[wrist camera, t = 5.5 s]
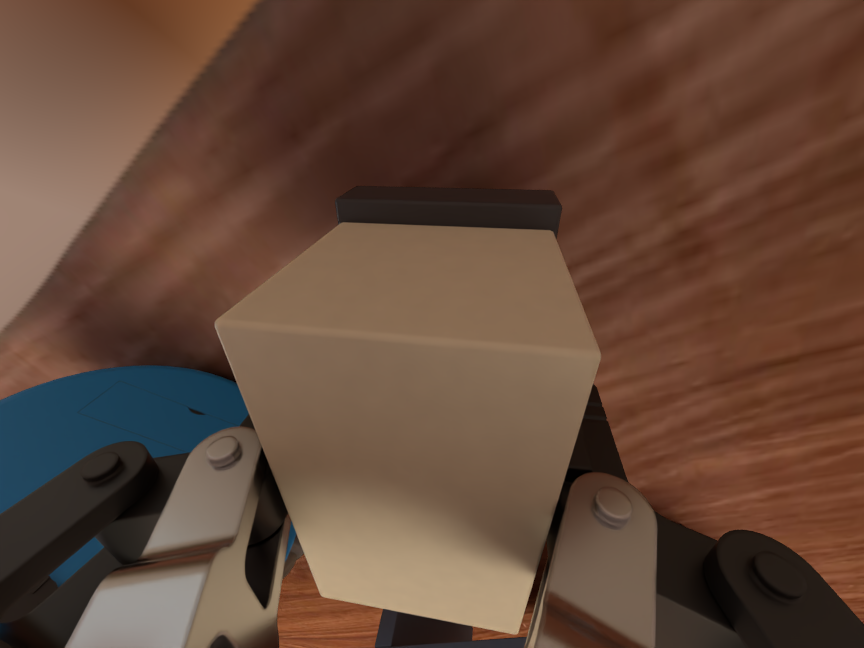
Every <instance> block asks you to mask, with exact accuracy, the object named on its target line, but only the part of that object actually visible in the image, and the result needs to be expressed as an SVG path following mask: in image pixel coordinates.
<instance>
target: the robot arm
mask: <svg viewBox="0 0 864 648" xmlns="http://www.w3.org/2000/svg"><path fill="white" fill-rule="evenodd" d="M606 419H607V417H606V414H605V411H604V408H603V407H602V402H601V399H600V396H599V393H598V390H597V387H596V386H595V385H594V384H593V386H592V389H591V392H590V396H589V399H588V402H587V406H586V409H585V412H584V416H583V419H582V422H581V426H580V429H579V432H578V436H577V439H576V442H575V446H574V449H573V452H572V456H571V459H570V462H569V466H568V469H567V472H566V476H565V479H564V482H563V486H562V489H561V492H560V495H559V499H558V502H557V505H556V509H555V512H554V515H553V519H552V522H551V525H550V529H549V532H548V535H547V539H546V540H547V550H548V559H547V562H546V565H545V569H544V572H543V576H542V580H541V584H540V588H539V592H538V596H537V600H536V604H535V608H534V612H533V616H532V620H531V623H530V627H529V631H528V635H527V639H526V643H525V647H524V648H864V624H863V623H862V622H861V621H860V620H859V618H858V617H857V616H856V615H855V614H854V613H853V612H852V611H851V609H850V608H849V607H848V606H847V605H846V604H845V603H844V602H843V601H842V599H841V598H840V597H839V596H838V595H837V594H836V593H835V592H834V590H833V589H832V588H831V587H830V586H829V585H828V584H827V583H826V582H825V580H824V579H823V578H822V577H821V576H820V575H819V574H818V573H817V572H816V571H815V570H814V568H813V567H812V566H811V565H810V564H809V563H807V562H806V561H805V560H804V559H803V558H802V557H800V556H799V555H798V554H797V553H795V552H794V551H792V550H791V549H790V548H788V547H786V546H785V545H783V544H782V543H780V542H778V541H776V540H774V539H772V538H770V537H768V536H765V535H763V534H760V533H757V532H753V531H748V530H733V531H729V532H727V533H725V534H724V535H723V536H722V537H721V538H720V539H719V540H718V541H717V540H715V539H713V538H710V537H708V536H705V535H703V534H701V533H698V532H696V531H694V530H691V529H689V528H686V527H684V526H682V525H679V524H677V523H675V522H672V521H670V520H668V519H666V518H665V517H663V516H661V515H660V514H658V513H657V512H655V511H654V510H653V509H652V507H651V505H650V504H649V502H648V501H647V499H646V498H645V497H644V496H643V495H642V493H640V492H639V491H638V490H637V489H636V488H635V487H634V486H632V485H631V484H630V483H629V482H628V480H627V478H626V475H625V472H624V469H623V466H622V463H621V460H620V457H619V454H618V451H617V448H616V445H615V442H614V439H613V436H612V432H611V429H610V426H609V423H608V421H606ZM290 526H291V519H290V516H289V514H288V511H287V509H286V506H285V504H284V501H283V499H282V496H281V493H280V491H279V488H278V486H277V483H276V481H275V478H274V476H273V473H272V471H271V468H270V466H269V463H268V460H267V458H266V455H265V453H264V450H263V448H262V445H261V443H260V440H259V438H258V435H257V433H256V430H255V428H254V425H253V422H252V420H251V417H250V415H249V414H248V416H247V417H246V418H245V419H244V421H243V422H242V423H241V424H240V426H238V427H230V428H226V429H223V430H220V431H218V432H216V433H214V434H212V435H210V436H208V437H207V438H205V439H204V440H203V441H201V442H200V443H199V444H198V445H197V446H196V447H195V448H194V449H193V450H192V452H189V453H183V454H176V455H169V456H163V457H156V458H152V456H151V455H150V453H149V451H148V450H147V448H146V447H145V446H144V445H143V444H142V443H139V442H136V441H123V442H118V443H114V444H111V445H108V446H105V447H103V448H100V449H98V450H96V451H94V452H92V453H90V454H89V455H87V456H86V457H84V458H82V459H81V460H79V461H78V462H76V463H75V464H73V465H72V466H71V467H69V468H68V469H66V470H65V471H63V472H62V473H60V474H59V475H57V476H56V477H54V478H53V479H51V480H50V481H48V482H47V483H45V484H44V485H42V486H41V487H39V488H38V489H37V490H35V491H34V492H32V493H31V494H29V495H28V496H26V497H25V498H23V499H22V500H20V501H19V502H17V503H16V504H14V505H13V506H11V507H10V508H8V509H7V510H5V511H4V512H3V513H1V514H0V621H1V619H2V617H3V616H4V615H5V613H6V612H7V611H8V610H9V609H10V608H11V607H12V606H13V605H14V604H15V603H16V602H18V601H19V600H20V599H21V598H22V597H24V596H25V595H26V594H27V593H28V592H29V591H31V590H32V589H33V588H34V587H35V586H37V585H38V584H39V583H40V582H41V581H43V580H44V579H45V578H46V577H47V576H48V575H50V574H51V573H52V572H53V571H54V570H56V569H57V568H58V567H59V566H60V565H62V564H63V563H64V562H65V561H66V560H67V559H69V558H70V557H71V556H72V555H73V554H75V553H76V552H77V551H78V550H79V549H81V548H82V547H83V546H84V545H85V544H86V543H88V542H89V541H90V540H91V539H92V538H94V537H95V538H96V539H97V540H98V541H99V542H100V543H101V544H102V545H103V546H104V548H103V549H102V550H101V551H99V552H98V553H97V554H96V555H95V556H94V557H93V558H91V559H90V560H89V561H88V562H87V563H86V564H85V565H83V566H82V567H81V568H80V569H79V570H78V571H77V572H75V573H74V574H73V575H72V576H71V577H70V578H69V579H67V580H66V581H65V582H64V583H63V584H62V585H61V586H60V587H58V588H57V589H56V590H55V591H54V592H53V593H52V594H50V595H49V596H48V597H47V598H46V599H45V600H44V601H42V602H41V603H40V604H39V605H38V606H37V607H36V608H34V609H33V610H32V611H31V612H29V613H28V614H26V615H25V616H23V617H21V618H19V619H17V620H15V621H12V622H8V623H0V648H279V634H278V627H277V612H278V604H279V597H280V591H281V584H282V578H283V571H284V565H285V558H286V552H287V545H288V539H289V532H290Z"/></svg>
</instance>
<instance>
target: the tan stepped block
mask: <svg viewBox="0 0 864 648" xmlns="http://www.w3.org/2000/svg"><path fill="white" fill-rule="evenodd" d="M335 205H336V211H337V218H338V226H336V227H335V228H334V229H333V230H331V231H330V232H329V233H327V234H326V235H325V236H324V237H322V238H321V239H320V240H318V241H317V242H316V243H315V244H313V245H312V246H311V247H309V248H308V249H307V250H305V251H304V252H303V253H302V254H300V255H299V256H298V257H296V258H295V259H294V260H293V261H291V262H290V263H289V264H287V265H286V266H285V267H284V268H282V269H281V270H280V271H278V272H277V273H276V274H275V275H273V276H272V277H271V278H269V279H268V280H267V281H266V282H264V283H263V284H262V285H260V286H259V287H258V288H256V289H255V290H254V291H253V292H251V293H250V294H249V295H247V296H246V297H245V298H244V299H242V300H241V301H240V302H238V303H237V304H236V305H235V306H233V307H232V308H231V309H229V310H228V311H227V312H226V313H224V314H223V315H222V316H220V317H219V318H218V319H217V320H216V321H215V329H216V331H217V334H218V336H219V339H220V341H221V344H222V346H223V349H224V351H225V354H226V357H227V359H228V362H229V364H230V367H231V369H232V372H233V374H234V377H235V379H236V382H237V384H238V387H239V390H240V392H241V395H242V397H243V400H244V402H245V405H246V407H247V410H248V412H249V415H250V417H251V420H252V422H253V425H254V428H255V430H256V433H257V435H258V438H259V440H260V443H261V445H262V448H263V450H264V453H265V455H266V458H267V460H268V463H269V466H270V468H271V471H272V473H273V476H274V478H275V481H276V483H277V486H278V488H279V491H280V493H281V496H282V499H283V501H284V504H285V506H286V509H287V511H288V514H289V516H290V519H291V521H292V524H293V526H294V529H295V531H296V534H297V537H298V539H299V542H300V544H301V547H302V549H303V552H304V554H305V557H306V559H307V562H308V564H309V567H310V569H311V572H312V575H313V577H314V580H315V582H316V585H317V587H318V590H319V592H320V595H321V596H322V597H326V598H331V599H336V600H341V601H346V602H352V603H357V604H362V605H367V606H372V607H377V608H382V609H387V610H392V611H398V612H403V613H408V614H413V615H418V616H423V617H428V618H433V619H438V620H443V621H449V622H454V623H459V624H464V625H469V626H474V627H479V628H484V629H489V630H495V631H500V632H505V633H510V634H518V632H519V628H520V625H521V622H522V618H523V615H524V612H525V608H526V605H527V602H528V598H529V595H530V592H531V589H532V585H533V582H534V579H535V575H536V572H537V569H538V565H539V562H540V559H541V555H542V552H543V549H544V545H545V542H546V539H547V535H548V532H549V529H550V525H551V522H552V519H553V515H554V512H555V509H556V505H557V502H558V499H559V495H560V492H561V489H562V486H563V482H564V479H565V476H566V472H567V469H568V466H569V462H570V459H571V456H572V452H573V449H574V446H575V442H576V439H577V436H578V432H579V429H580V426H581V422H582V419H583V416H584V412H585V409H586V406H587V402H588V399H589V396H590V392H591V389H592V386H593V382H594V379H595V376H596V373H597V369H598V366H599V363H600V359H601V353H600V350H599V347H598V345H597V342H596V340H595V337H594V335H593V332H592V329H591V327H590V324H589V322H588V319H587V317H586V314H585V312H584V309H583V307H582V304H581V301H580V299H579V296H578V294H577V291H576V289H575V286H574V284H573V281H572V278H571V276H570V273H569V271H568V268H567V266H566V263H565V261H564V258H563V256H562V253H561V250H560V248H559V245H558V243H557V240H556V239H557V234H558V228H559V222H560V217H561V211H562V206H561V204H560V202H559V200H558V199H557V197H556V195H555V193H554V191H551V190H514V189H470V188H426V187H382V186H356V187H355V188H353V189H351V190H350V191H348V192H346V193H345V194H343V195H341V196H340V197H338V198H336V200H335Z"/></svg>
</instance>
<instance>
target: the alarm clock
mask: <svg viewBox="0 0 864 648" xmlns="http://www.w3.org/2000/svg"><path fill="white" fill-rule="evenodd" d="M248 414H249V412H248V410H247V407H246V405H245V402H244V400H243V397H242V395H241V392H240V390H239V387H238V384H237V383H235V382H233V381H231V380H228V379H226V378H223V377H220V376H217V375H214V374H211V373H207V372H203V371H199V370H194V369H188V368H182V367H172V366H155V365H145V366H125V367H114V368H107V369H100V370H94V371H89V372H84V373H79V374H75V375H71V376H67V377H63V378H59V379H56V380H53V381H50V382H46V383H43V384H40V385H37V386H35V387H32V388H29V389H26V390H24V391H21V392H18V393H16V394H14V395H11V396H9V397H7V398H4V399H2V400H0V514H1V513H3V512H4V511H5V510H7V509H8V508H10V507H11V506H13V505H14V504H16V503H17V502H19V501H20V500H22V499H23V498H25V497H26V496H28V495H29V494H31V493H32V492H34V491H35V490H37V489H38V488H39V487H41V486H42V485H44V484H45V483H47V482H48V481H50V480H51V479H53V478H54V477H56V476H57V475H59V474H60V473H62V472H63V471H65V470H66V469H68V468H69V467H71V466H72V465H73V464H75V463H76V462H78V461H79V460H81V459H82V458H84V457H86V456H87V455H89V454H90V453H92V452H94V451H96V450H98V449H100V448H103V447H105V446H108V445H111V444H114V443H118V442H123V441H136V442H139V443H142V444H143V445H144V446H145V447H146V448H147V450H148V451H149V453H150V455H151V456H152V458H156V457H163V456H169V455H176V454H183V453H189V452H192V450H193V449H194V448H195V447H196V446H197V445H198V444H199V443H200V442H201V441H203V440H204V439H205V438H207V437H208V436H210V435H212V434H214V433H216V432H218V431H220V430H223V429H226V428H230V427H238V426H240V424H241V423H242V422H243V421H244V419H245V418H246V417H247V416H248ZM295 536H296V531H295V529H294V526H293V524H292V521H291V526H290V532H289V539H288V545H287V552H286V558H285V561H286V559H287V557H288V555H289V552H290V550H291V547H292V545H293V542H294V540H295ZM103 548H104V546H103V545H102V544H101V543H100V542H99V541H98V540H97V539H96V538H95V537H94V538H92V539H91V540H90V541H89V542H88V543H86V544H85V545H84V546H83V547H82V548H81V549H79V550H78V551H77V552H76V553H75V554H73V555H72V556H71V557H70V558H69V559H67V560H66V561H65V562H64V563H63V564H62V565H60V566H59V567H58V568H57V569H56V570H54V571H53V572H52V573H51V574H50V575H48V576H47V577H46V578H45V579H44V580H43V581H41V582H40V583H39V584H38V585H37V586H35V587H34V588H33V589H32V590H31V591H29V592H28V593H27V594H26V595H25V596H24V597H22V598H21V599H20V600H19V601H18V602H16V603H15V604H14V605H13V606H12V607H11V608H10V609H9V610H8V611H7V612H6V613H5V615H4V616H3V617H2V619H1V621H0V623H8V622H12V621H15V620H17V619H19V618H21V617H23V616H25V615H26V614H28V613H29V612H31V611H32V610H33V609H34V608H36V607H37V606H38V605H39V604H40V603H41V602H42V601H44V600H45V599H46V598H47V597H48V596H49V595H50V594H52V593H53V592H54V591H55V590H56V589H57V588H58V587H60V586H61V585H62V584H63V583H64V582H65V581H66V580H67V579H69V578H70V577H71V576H72V575H73V574H74V573H75V572H77V571H78V570H79V569H80V568H81V567H82V566H83V565H85V564H86V563H87V562H88V561H89V560H90V559H91V558H93V557H94V556H95V555H96V554H97V553H98V552H99V551H101V550H102V549H103Z"/></svg>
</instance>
